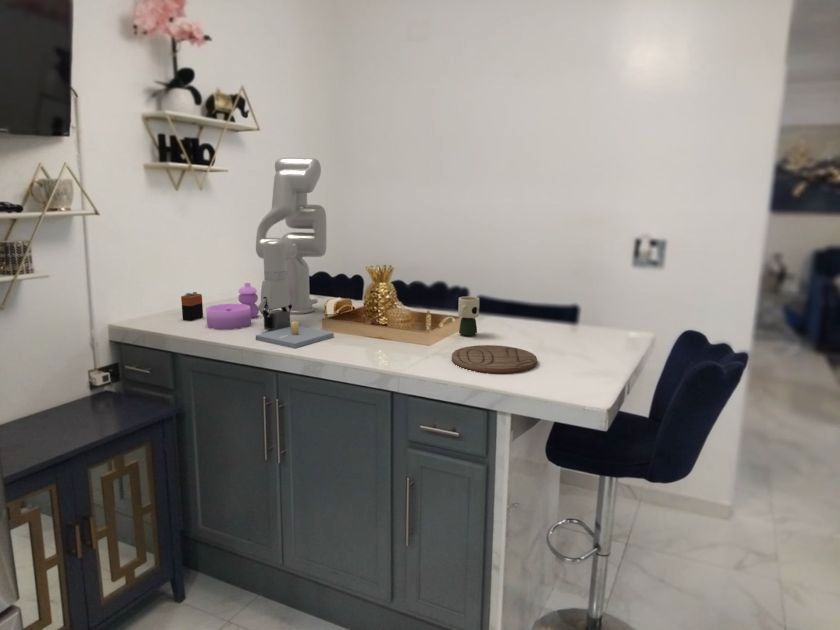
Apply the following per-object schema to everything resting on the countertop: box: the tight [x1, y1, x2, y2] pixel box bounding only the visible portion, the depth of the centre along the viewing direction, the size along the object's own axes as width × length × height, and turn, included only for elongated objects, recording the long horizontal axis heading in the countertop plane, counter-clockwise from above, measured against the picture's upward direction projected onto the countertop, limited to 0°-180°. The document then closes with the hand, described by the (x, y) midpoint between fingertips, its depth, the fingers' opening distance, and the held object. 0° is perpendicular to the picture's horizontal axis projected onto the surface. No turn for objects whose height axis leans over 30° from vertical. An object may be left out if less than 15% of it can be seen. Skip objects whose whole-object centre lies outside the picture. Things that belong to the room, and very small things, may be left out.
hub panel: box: [255, 321, 335, 349], centre depth 202 cm, size 18×18×6 cm
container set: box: [205, 282, 260, 330], centre depth 224 cm, size 25×15×13 cm, turn 165°
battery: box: [180, 291, 204, 322], centre depth 228 cm, size 4×7×10 cm, turn 159°
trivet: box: [451, 344, 538, 375], centre depth 179 cm, size 25×25×2 cm
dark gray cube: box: [263, 309, 291, 331], centre depth 215 cm, size 6×6×6 cm
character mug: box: [457, 296, 480, 337], centre depth 208 cm, size 11×7×13 cm, turn 153°
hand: (277, 325), depth 215 cm, fingers open, 7 cm apart
